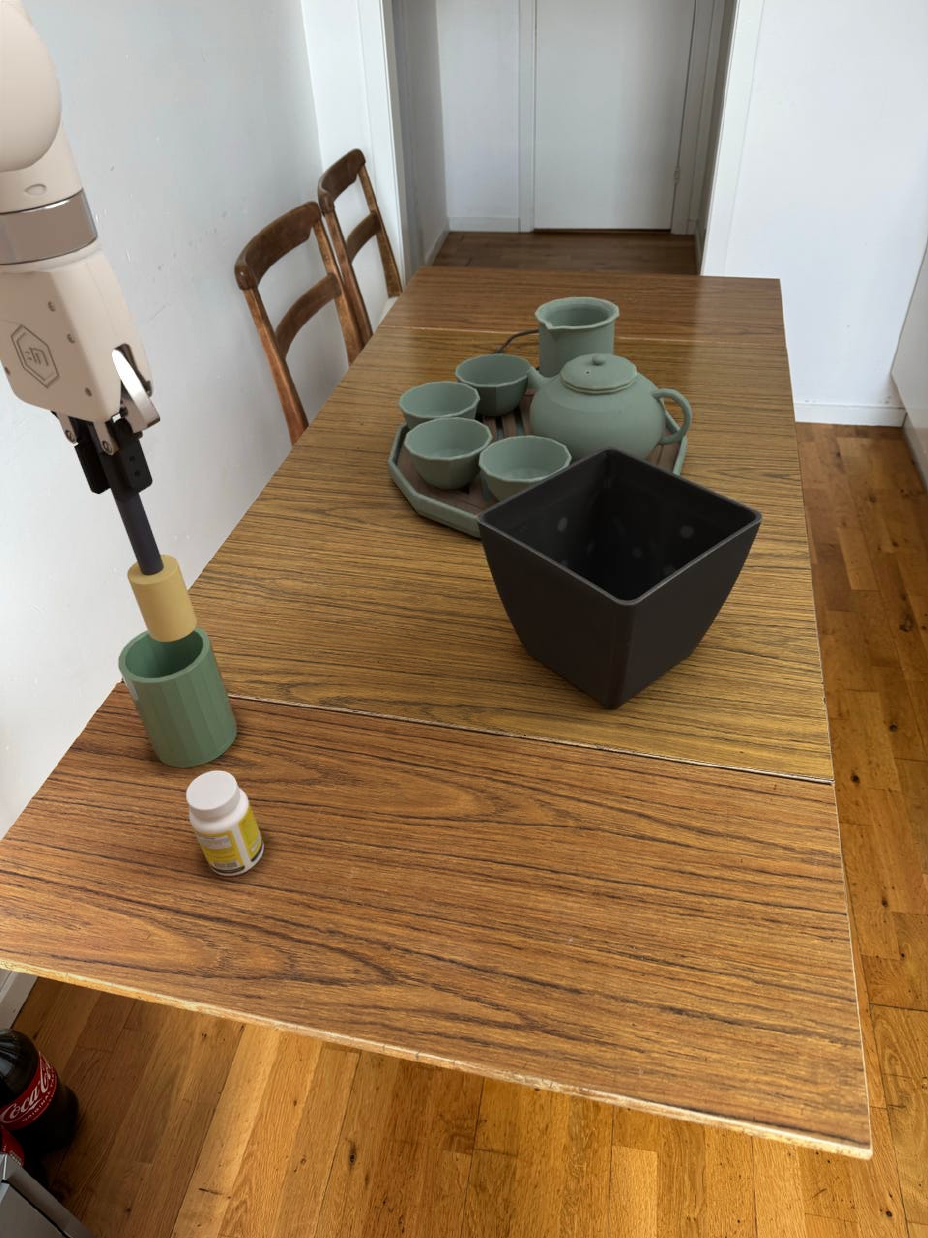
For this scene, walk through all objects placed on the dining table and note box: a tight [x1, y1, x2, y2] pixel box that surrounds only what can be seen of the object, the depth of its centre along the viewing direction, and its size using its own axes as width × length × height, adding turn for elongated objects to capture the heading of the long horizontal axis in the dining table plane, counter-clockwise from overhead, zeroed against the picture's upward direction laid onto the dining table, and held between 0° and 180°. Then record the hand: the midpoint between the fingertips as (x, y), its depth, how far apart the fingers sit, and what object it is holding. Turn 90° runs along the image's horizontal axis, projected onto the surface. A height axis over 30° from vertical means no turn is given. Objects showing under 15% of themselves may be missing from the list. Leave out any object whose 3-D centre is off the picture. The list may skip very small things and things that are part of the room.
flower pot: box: [476, 446, 763, 709], centre depth 86 cm, size 19×19×17 cm
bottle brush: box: [87, 417, 198, 642], centre depth 69 cm, size 4×4×19 cm
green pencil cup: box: [117, 625, 238, 769], centre depth 83 cm, size 8×8×11 cm
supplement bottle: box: [185, 769, 264, 877], centre depth 73 cm, size 5×5×8 cm
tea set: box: [387, 296, 693, 538], centre depth 117 cm, size 40×40×16 cm
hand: (122, 487), depth 66 cm, fingers closed on bottle brush
